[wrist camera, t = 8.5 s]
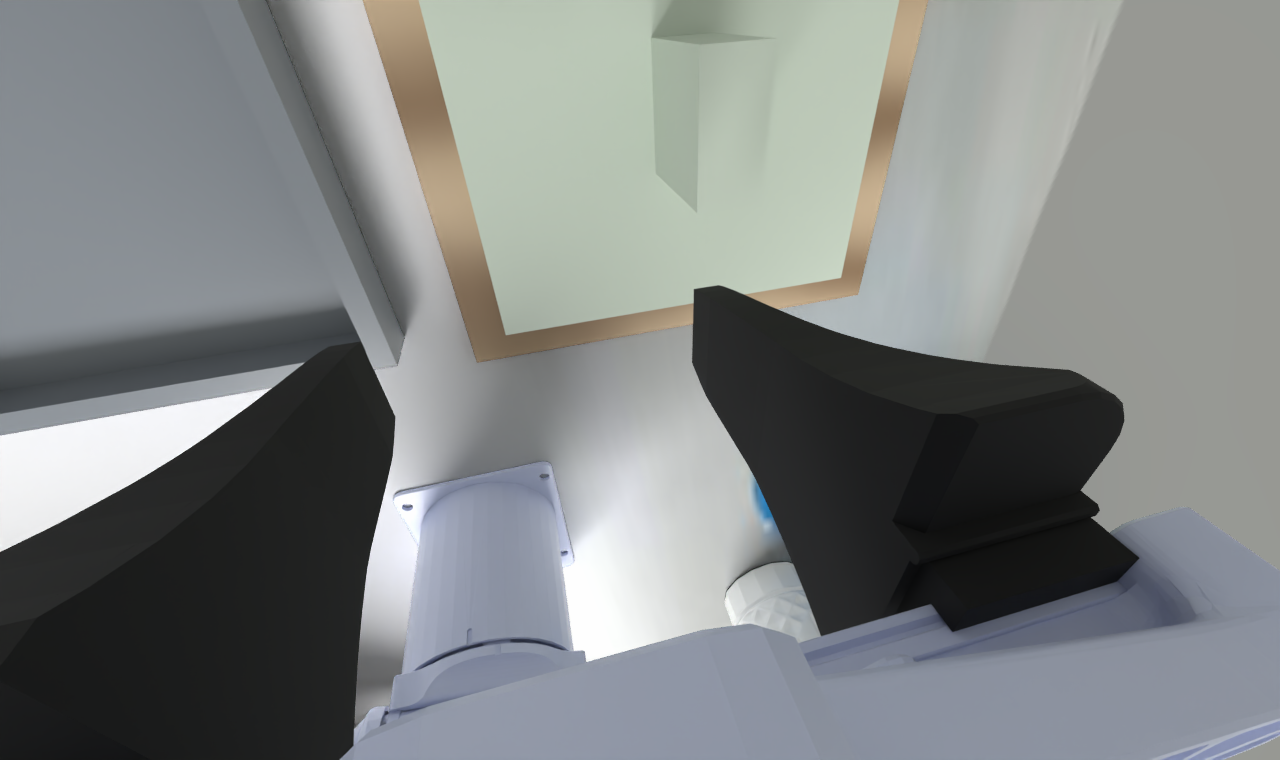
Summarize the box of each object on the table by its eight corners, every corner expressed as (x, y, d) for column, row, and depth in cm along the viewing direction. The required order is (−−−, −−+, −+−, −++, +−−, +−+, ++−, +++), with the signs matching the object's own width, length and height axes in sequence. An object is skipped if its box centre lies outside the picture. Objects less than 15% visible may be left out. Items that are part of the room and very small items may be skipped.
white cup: (826, 567, 40) (907, 700, 32) (760, 619, 43) (820, 754, 35) (766, 546, 36) (843, 693, 28) (697, 606, 39) (749, 754, 31)
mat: (853, 291, 24) (858, 294, 24) (477, 357, 21) (477, 362, 21) (993, -319, 13) (1005, -327, 13) (256, -350, 10) (249, -361, 10)
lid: (835, 273, 23) (906, 327, 19) (505, 329, 20) (509, 403, 16) (935, -230, 14) (1116, -329, 10) (360, -234, 11) (290, -368, 7)
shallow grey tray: (404, 338, 20) (397, 365, 18) (-35, 411, 18) (-86, 450, 16) (168, -239, 11) (113, -282, 9) (-813, -248, 8) (-1106, -307, 7)
